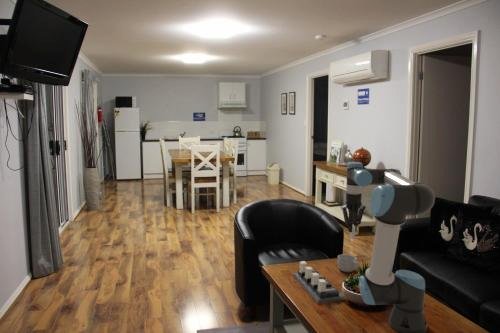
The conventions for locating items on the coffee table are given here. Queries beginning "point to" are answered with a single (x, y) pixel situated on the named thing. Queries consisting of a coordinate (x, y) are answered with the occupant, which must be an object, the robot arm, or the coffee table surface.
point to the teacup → (347, 262)
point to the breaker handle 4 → (321, 285)
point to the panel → (313, 293)
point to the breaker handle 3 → (314, 278)
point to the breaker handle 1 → (303, 266)
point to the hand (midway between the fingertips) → (352, 238)
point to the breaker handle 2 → (308, 272)
